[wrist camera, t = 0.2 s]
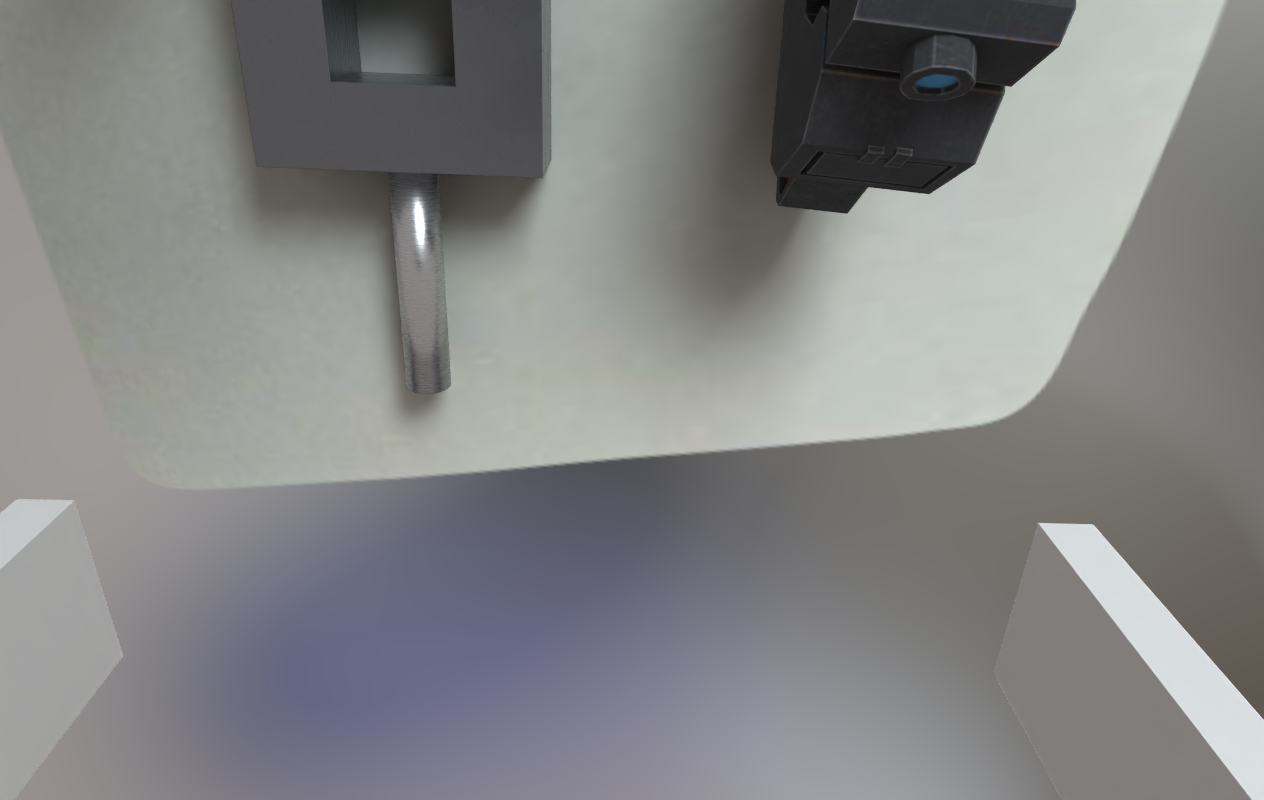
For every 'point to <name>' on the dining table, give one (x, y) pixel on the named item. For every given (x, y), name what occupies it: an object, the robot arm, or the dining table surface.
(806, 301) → the dining table surface
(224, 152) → the dining table surface
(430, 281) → the grey holed block
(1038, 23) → the toy gun
